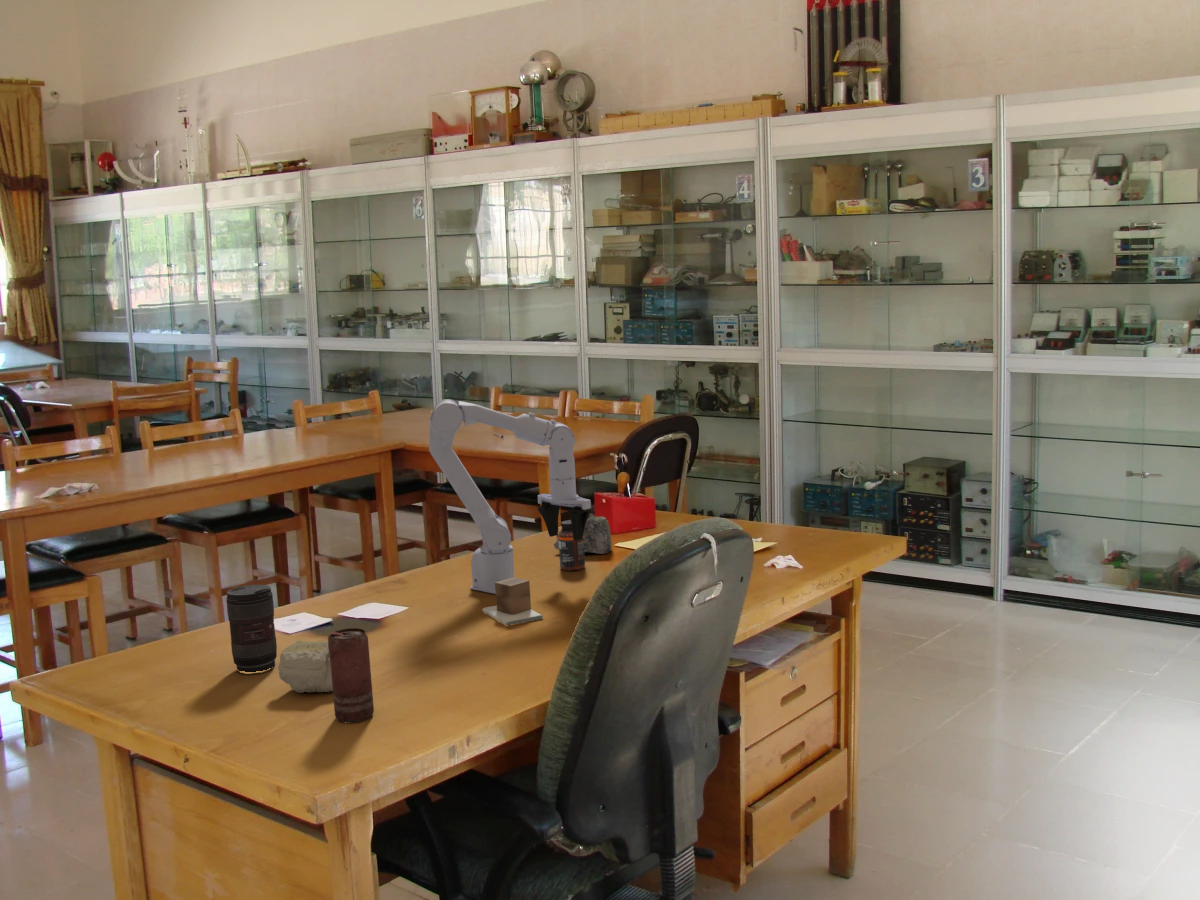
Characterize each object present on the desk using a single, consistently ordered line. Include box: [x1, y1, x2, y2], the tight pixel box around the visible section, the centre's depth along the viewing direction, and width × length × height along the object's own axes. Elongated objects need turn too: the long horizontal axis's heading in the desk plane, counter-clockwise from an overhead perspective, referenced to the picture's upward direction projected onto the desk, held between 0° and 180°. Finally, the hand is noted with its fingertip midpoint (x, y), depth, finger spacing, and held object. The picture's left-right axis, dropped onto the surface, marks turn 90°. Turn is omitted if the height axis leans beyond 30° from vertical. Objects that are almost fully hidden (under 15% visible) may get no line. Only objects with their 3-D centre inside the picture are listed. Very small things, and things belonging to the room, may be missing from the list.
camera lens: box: [225, 584, 278, 672], centre depth 210 cm, size 8×8×15 cm
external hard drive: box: [481, 605, 544, 626], centre depth 237 cm, size 2×8×12 cm
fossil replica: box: [277, 640, 333, 694], centre depth 198 cm, size 12×8×10 cm
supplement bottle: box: [558, 519, 586, 572], centre depth 271 cm, size 6×6×11 cm
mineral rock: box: [553, 513, 613, 555], centre depth 287 cm, size 13×11×10 cm
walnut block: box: [495, 576, 532, 615], centre depth 237 cm, size 5×5×6 cm
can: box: [327, 627, 375, 724], centre depth 184 cm, size 6×6×14 cm
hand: (565, 537), depth 258 cm, fingers open, 7 cm apart
